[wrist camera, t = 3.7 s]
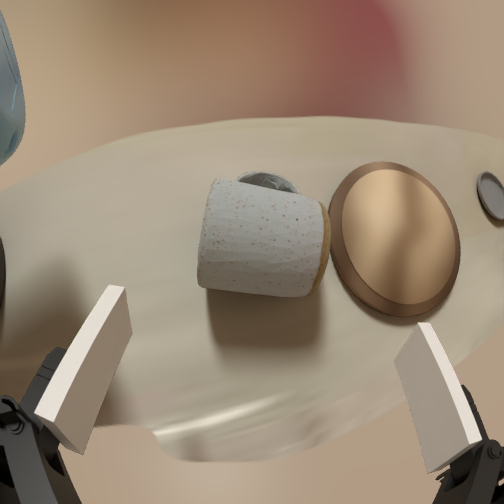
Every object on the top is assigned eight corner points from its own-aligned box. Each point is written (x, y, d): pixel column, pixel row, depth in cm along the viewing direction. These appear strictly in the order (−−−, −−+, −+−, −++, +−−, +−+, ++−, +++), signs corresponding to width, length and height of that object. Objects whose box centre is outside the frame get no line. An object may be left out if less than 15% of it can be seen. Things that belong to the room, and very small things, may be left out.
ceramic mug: (303, 304, 23) (336, 291, 16) (201, 293, 23) (187, 274, 16) (309, 187, 26) (335, 137, 19) (219, 175, 26) (217, 120, 18)
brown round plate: (321, 310, 23) (325, 309, 22) (327, 152, 27) (330, 146, 26) (455, 318, 24) (463, 317, 23) (446, 184, 28) (452, 179, 26)
